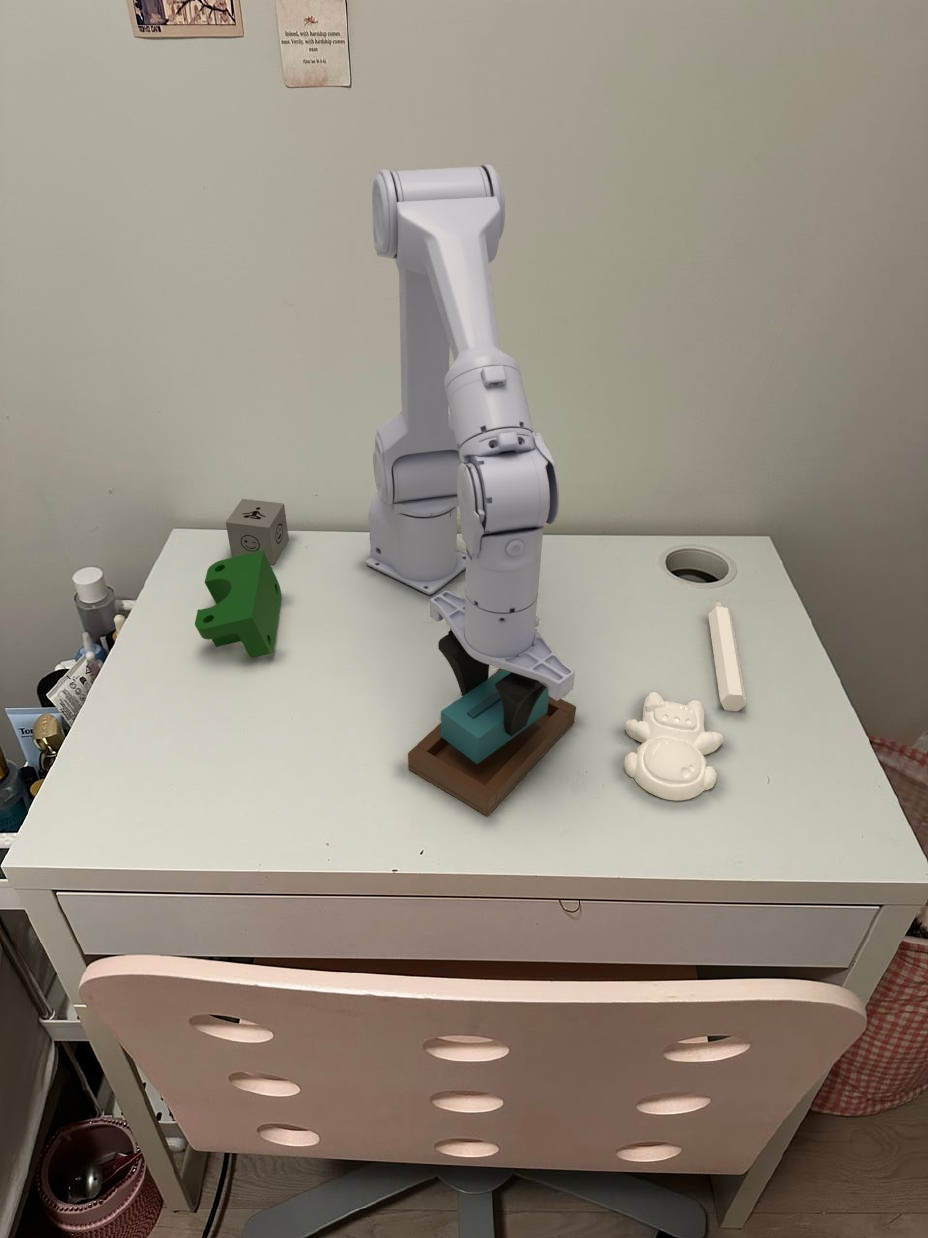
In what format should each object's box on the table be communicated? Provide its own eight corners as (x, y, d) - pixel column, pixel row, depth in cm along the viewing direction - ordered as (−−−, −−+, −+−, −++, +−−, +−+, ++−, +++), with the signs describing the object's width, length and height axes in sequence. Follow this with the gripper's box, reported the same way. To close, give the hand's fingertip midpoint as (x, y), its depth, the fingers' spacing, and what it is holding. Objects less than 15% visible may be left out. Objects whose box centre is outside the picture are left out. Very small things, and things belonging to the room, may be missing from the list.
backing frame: (487, 817, 78) (488, 800, 76) (408, 769, 82) (407, 753, 80) (574, 722, 86) (576, 706, 85) (499, 683, 90) (499, 667, 89)
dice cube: (232, 559, 106) (225, 522, 102) (248, 534, 109) (242, 498, 106) (274, 564, 105) (268, 527, 102) (288, 539, 109) (284, 503, 106)
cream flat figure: (726, 716, 87) (733, 693, 85) (709, 812, 78) (716, 788, 77) (634, 694, 89) (638, 671, 87) (608, 785, 81) (612, 761, 79)
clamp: (239, 638, 102) (213, 559, 99) (292, 625, 101) (267, 546, 99) (208, 676, 90) (177, 588, 88) (266, 662, 90) (237, 573, 87)
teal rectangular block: (477, 764, 79) (478, 736, 76) (440, 736, 81) (440, 708, 79) (547, 712, 84) (550, 684, 81) (511, 687, 86) (512, 659, 84)
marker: (716, 612, 101) (733, 715, 88) (700, 603, 100) (715, 705, 88) (732, 596, 99) (752, 699, 87) (717, 586, 99) (734, 689, 86)
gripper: (606, 610, 71) (588, 734, 80) (472, 533, 79) (469, 653, 88) (545, 653, 67) (533, 778, 76) (410, 567, 75) (413, 689, 84)
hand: (495, 714), depth 81 cm, fingers closed on teal rectangular block, 4 cm apart
